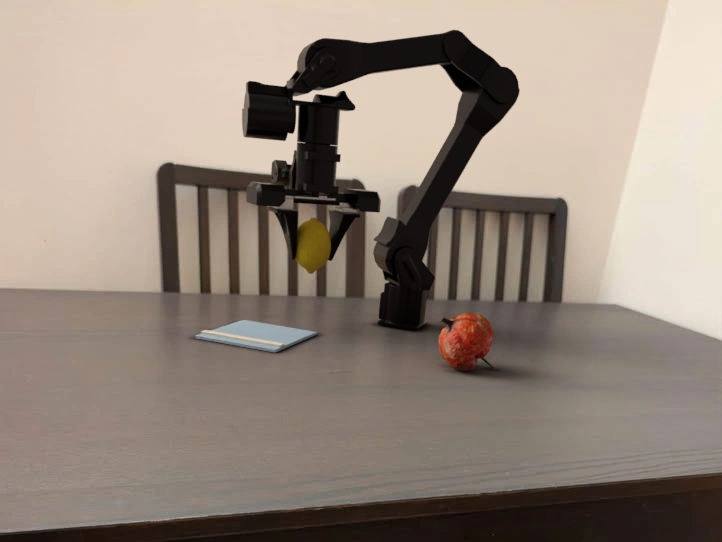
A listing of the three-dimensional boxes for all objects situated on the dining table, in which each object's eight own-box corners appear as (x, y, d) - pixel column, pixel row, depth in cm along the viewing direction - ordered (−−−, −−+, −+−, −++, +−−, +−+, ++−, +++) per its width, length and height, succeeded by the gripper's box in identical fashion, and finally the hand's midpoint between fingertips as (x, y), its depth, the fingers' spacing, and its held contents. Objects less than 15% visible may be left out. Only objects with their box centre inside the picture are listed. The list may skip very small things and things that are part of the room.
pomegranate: (471, 376, 99) (419, 328, 96) (511, 338, 96) (459, 287, 93) (477, 398, 93) (421, 347, 89) (520, 358, 90) (464, 304, 87)
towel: (316, 334, 105) (317, 329, 105) (275, 352, 94) (275, 347, 93) (243, 322, 108) (243, 317, 108) (195, 338, 97) (194, 333, 97)
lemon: (288, 270, 110) (290, 214, 107) (323, 271, 112) (327, 216, 109) (296, 276, 105) (299, 218, 102) (333, 277, 107) (337, 220, 104)
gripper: (355, 148, 112) (347, 253, 118) (236, 137, 104) (235, 250, 111) (386, 150, 103) (377, 264, 109) (259, 138, 95) (256, 261, 102)
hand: (311, 259), depth 108 cm, fingers closed on lemon, 5 cm apart
